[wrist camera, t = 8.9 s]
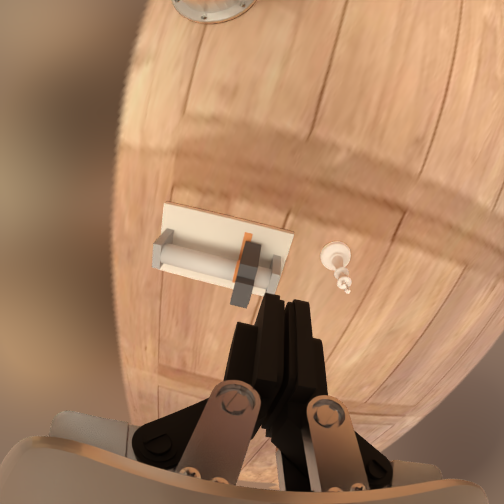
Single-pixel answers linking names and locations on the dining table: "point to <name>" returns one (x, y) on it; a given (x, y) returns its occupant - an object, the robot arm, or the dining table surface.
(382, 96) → the dining table surface
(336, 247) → the chess piece
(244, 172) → the dining table surface
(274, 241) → the rail
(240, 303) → the dark grey notched block
